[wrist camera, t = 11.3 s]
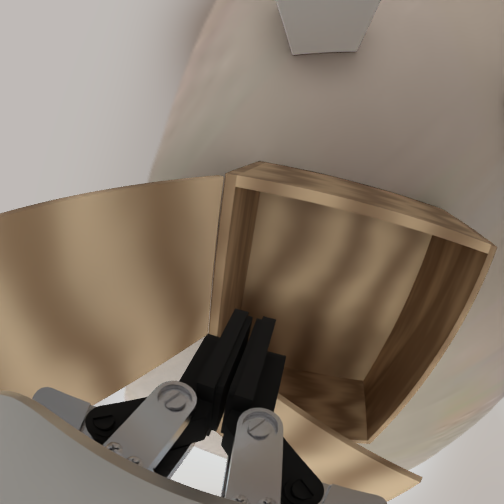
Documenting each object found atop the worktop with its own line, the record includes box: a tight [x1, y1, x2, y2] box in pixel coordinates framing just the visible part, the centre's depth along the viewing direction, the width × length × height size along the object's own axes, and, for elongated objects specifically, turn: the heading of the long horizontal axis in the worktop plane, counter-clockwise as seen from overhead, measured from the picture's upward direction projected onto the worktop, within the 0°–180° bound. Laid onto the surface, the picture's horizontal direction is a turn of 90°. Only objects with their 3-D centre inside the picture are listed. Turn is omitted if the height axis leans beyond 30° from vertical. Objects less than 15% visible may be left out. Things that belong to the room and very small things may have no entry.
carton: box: [209, 161, 497, 444], centre depth 28 cm, size 22×28×12 cm
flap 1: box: [0, 175, 224, 406], centre depth 12 cm, size 22×14×1 cm
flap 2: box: [203, 339, 422, 502], centre depth 20 cm, size 22×14×1 cm
